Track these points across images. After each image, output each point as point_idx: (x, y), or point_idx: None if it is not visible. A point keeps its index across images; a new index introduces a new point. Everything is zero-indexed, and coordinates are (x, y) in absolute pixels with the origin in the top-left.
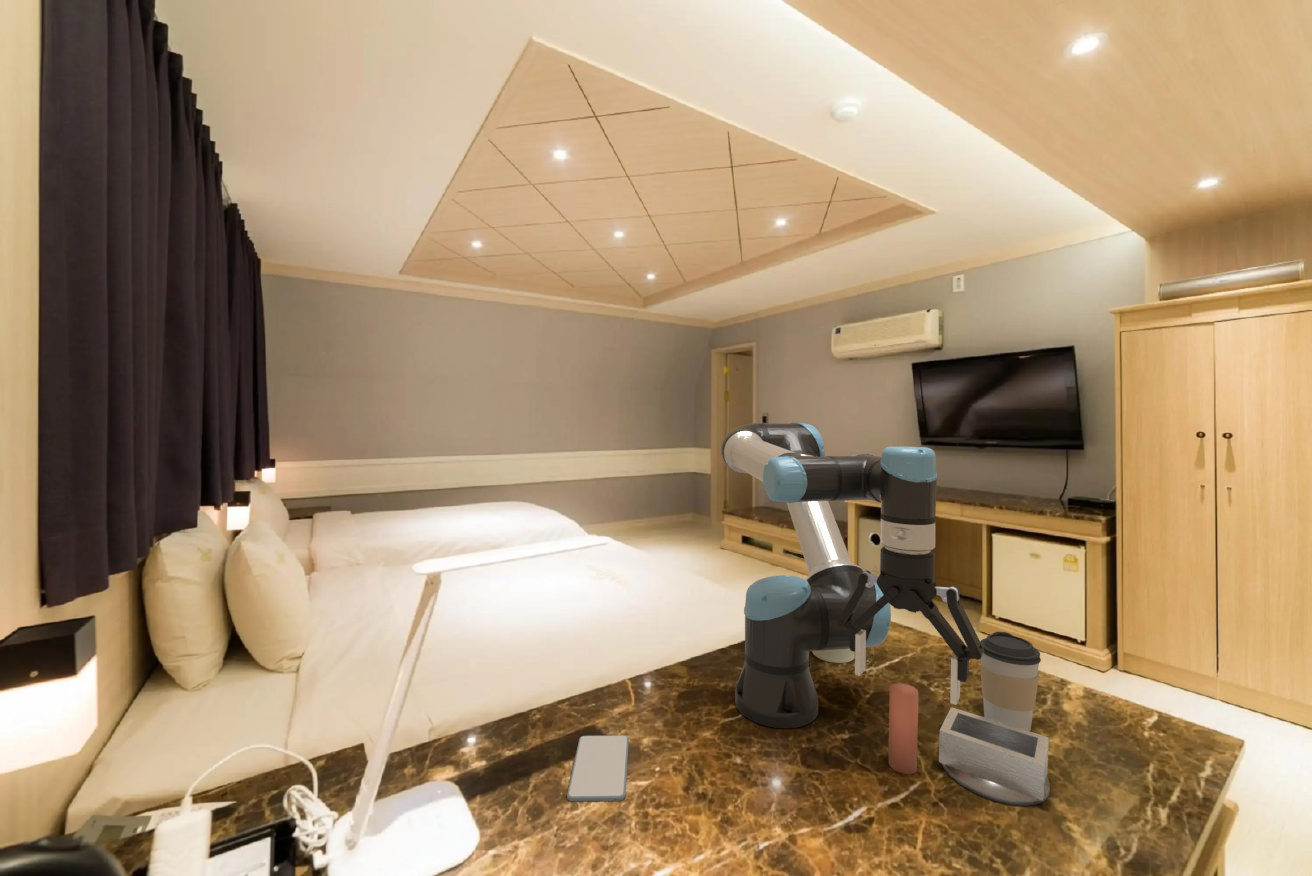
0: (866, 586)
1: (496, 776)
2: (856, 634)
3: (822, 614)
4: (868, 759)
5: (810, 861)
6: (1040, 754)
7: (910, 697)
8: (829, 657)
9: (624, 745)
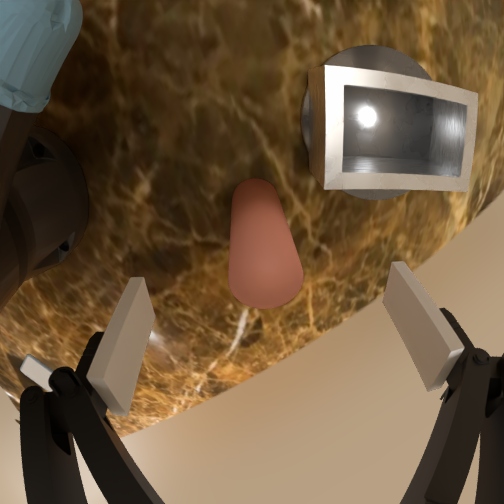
0: None
1: None
2: (114, 413)
3: None
4: (205, 221)
5: (236, 382)
6: (467, 159)
7: (289, 299)
8: None
9: (40, 366)
